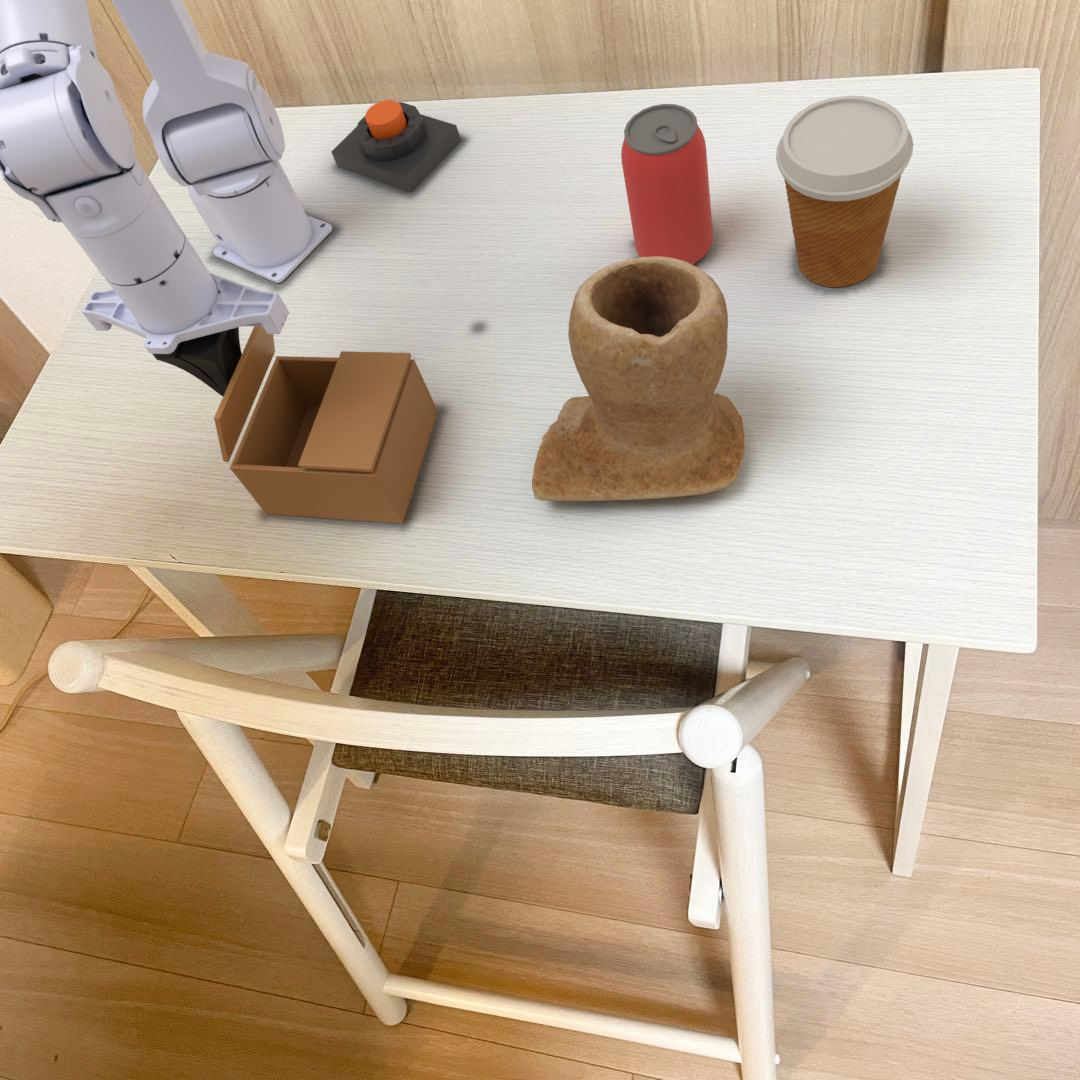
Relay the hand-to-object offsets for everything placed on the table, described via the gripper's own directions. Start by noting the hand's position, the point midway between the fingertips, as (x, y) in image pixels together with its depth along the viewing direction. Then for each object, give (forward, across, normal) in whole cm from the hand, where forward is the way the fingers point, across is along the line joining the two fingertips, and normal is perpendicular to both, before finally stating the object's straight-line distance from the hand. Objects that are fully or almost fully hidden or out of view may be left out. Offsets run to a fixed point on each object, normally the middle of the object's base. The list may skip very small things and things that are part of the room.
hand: (238, 389), depth 77 cm
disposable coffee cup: (+9, +42, +22) cm, 49 cm away
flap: (-1, +1, 0) cm, 2 cm away
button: (+6, -1, +37) cm, 37 cm away
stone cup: (+9, +29, +3) cm, 31 cm away
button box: (+9, -1, +37) cm, 38 cm away
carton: (+9, +6, 0) cm, 11 cm away
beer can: (+9, +29, +24) cm, 38 cm away
